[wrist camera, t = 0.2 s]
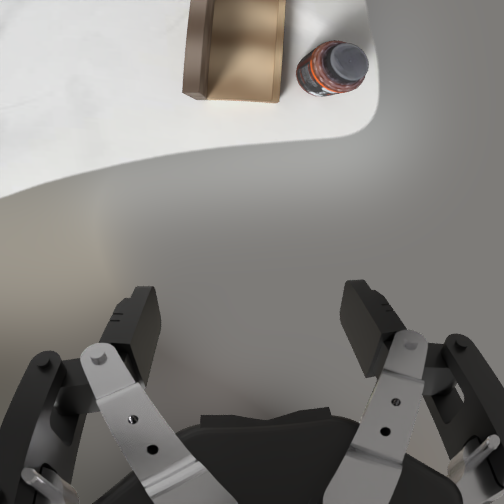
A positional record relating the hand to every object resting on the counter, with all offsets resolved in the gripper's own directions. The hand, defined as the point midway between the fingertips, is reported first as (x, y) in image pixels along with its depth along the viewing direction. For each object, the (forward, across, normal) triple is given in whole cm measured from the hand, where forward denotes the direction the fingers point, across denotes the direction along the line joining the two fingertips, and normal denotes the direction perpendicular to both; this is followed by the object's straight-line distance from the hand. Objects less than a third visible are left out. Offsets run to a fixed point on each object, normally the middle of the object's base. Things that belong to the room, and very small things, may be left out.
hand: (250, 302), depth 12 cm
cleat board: (+28, 0, -18) cm, 34 cm away
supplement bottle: (+29, -10, -13) cm, 33 cm away
